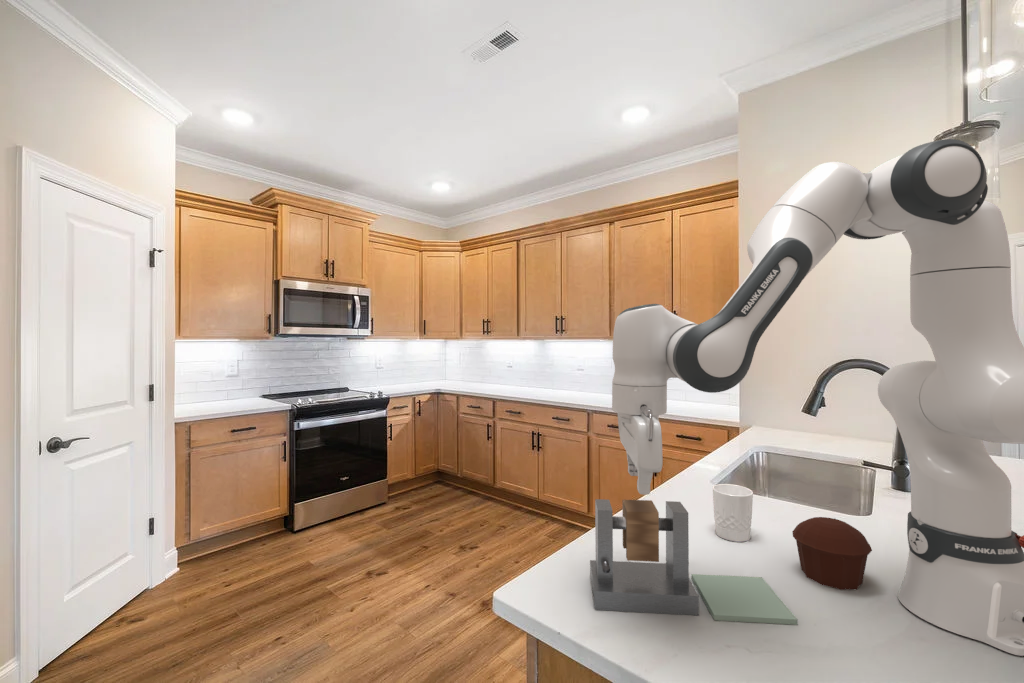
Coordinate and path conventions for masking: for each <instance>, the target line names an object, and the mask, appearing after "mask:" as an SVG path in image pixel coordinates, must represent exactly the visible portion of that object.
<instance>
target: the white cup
mask: <svg viewBox="0 0 1024 683" xmlns="http://www.w3.org/2000/svg"><path fill="white" fill-rule="evenodd" d="M753 498H754V491H753V490H751V489H750V488H748V487H746V486H742V485H738V484H732V483H719V484H715V485H713V486H712V499H713V500H712V503H713V514H714V515H713V517H714V526H715V531H714V532H715V534H716V535H717V536H718V537H719V538H722V540H727V541H731V542H735V543H736V542H737V543H745V542H747V541H749V540H750V539H751V530H752V529H751V527H752V520H753V519H752V517H753Z"/></svg>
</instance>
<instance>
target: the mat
mask: <svg viewBox="0 0 1024 683" xmlns="http://www.w3.org/2000/svg"><path fill="white" fill-rule="evenodd" d="M690 575H691V579H690V580H691V581H692V583H693V584H694V585H695V587H696V588H695V589H697V591H698V593H699V595H700V597H701V599H702V601H703V602H704V603H705V606H706V607H707V609H708V611H709V614H710V615H711V616H712V619H713V620H714V621H719V622H720V621H725V622H741V623H743V622H744V623H756V624H758V623H759V624H773V625H774V624H777V625H796V626H798V625H799V624H798V620H799V619H798V618H797V617H796V616H795V615H794V613H793V612H792V611H791V609H789V607H788V606H787V605H786V604H785V602H784V601H783V600H782V599H781V598H780V597H779V596H778V595H777V593H776V592H775V591H774V590H773V589H772V587H771V586H770V585H769V584H768V583H767V582H766V580H765V579H764V578H763V577H762V576H745V575H744V576H743V575H742V576H741V575H722V574H721V575H720V574H719V575H718V574H700V573H699V574H697V573H691V574H690Z"/></svg>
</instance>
